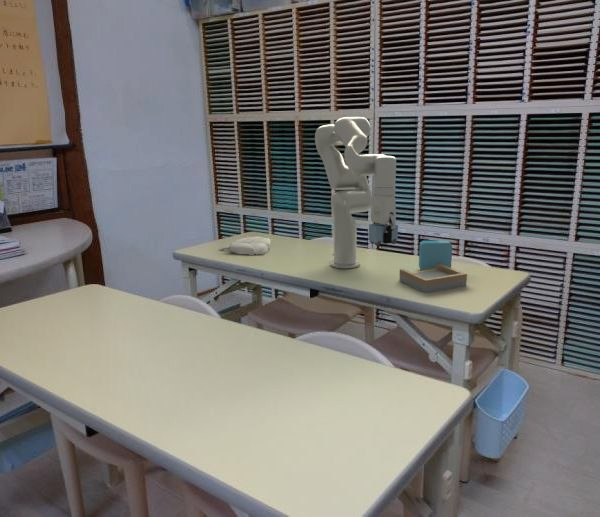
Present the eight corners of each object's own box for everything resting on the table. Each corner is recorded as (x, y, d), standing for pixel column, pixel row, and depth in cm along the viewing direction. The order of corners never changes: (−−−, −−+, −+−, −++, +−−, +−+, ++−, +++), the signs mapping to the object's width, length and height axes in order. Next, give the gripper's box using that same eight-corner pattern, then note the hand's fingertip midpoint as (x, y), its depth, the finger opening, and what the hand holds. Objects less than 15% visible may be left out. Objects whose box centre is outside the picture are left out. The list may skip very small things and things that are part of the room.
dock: (399, 280, 188) (399, 269, 187) (438, 274, 195) (438, 263, 194) (425, 292, 174) (425, 280, 173) (466, 285, 181) (467, 273, 180)
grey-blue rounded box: (368, 243, 182) (368, 224, 180) (389, 240, 185) (389, 221, 183) (376, 246, 177) (376, 227, 175) (397, 244, 180) (398, 224, 178)
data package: (448, 269, 202) (450, 240, 199) (451, 272, 198) (452, 242, 195) (418, 269, 203) (419, 240, 200) (420, 272, 199) (421, 243, 196)
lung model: (266, 255, 230) (214, 260, 234) (273, 247, 247) (224, 251, 250) (264, 241, 228) (212, 246, 232) (271, 234, 245) (222, 238, 249)
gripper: (363, 189, 182) (362, 237, 187) (388, 195, 167) (386, 247, 172) (380, 188, 185) (379, 235, 190) (407, 193, 170) (405, 245, 175)
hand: (383, 241), depth 181 cm, fingers closed on grey-blue rounded box, 5 cm apart
